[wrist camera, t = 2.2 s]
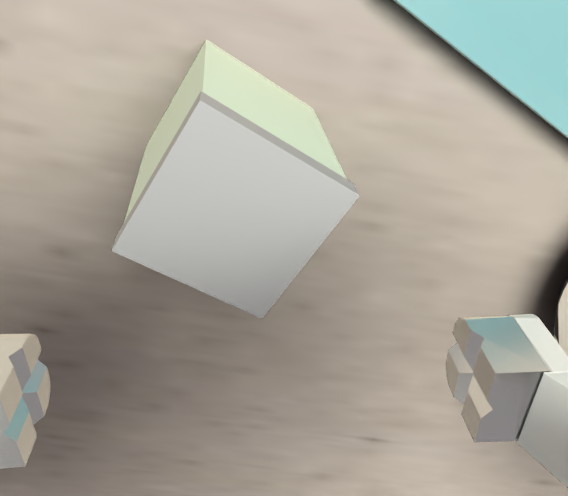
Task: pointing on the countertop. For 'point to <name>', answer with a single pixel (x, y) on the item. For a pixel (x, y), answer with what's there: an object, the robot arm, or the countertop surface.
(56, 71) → the countertop surface
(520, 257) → the countertop surface
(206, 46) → the tea tin
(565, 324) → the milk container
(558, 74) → the tray
